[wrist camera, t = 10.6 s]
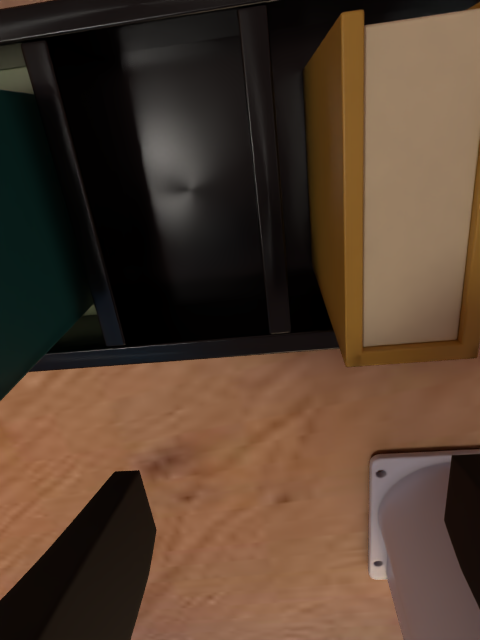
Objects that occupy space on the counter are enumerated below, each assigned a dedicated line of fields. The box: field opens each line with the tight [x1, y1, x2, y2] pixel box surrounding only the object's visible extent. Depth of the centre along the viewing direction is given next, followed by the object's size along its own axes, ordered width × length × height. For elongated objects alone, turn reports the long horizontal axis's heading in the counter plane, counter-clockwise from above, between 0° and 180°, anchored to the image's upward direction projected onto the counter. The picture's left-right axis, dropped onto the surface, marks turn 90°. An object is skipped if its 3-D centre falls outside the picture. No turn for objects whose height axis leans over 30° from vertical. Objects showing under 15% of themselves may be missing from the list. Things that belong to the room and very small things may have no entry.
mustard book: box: [303, 2, 480, 367], centre depth 12 cm, size 7×3×8 cm, turn 7°
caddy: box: [0, 0, 480, 372], centre depth 15 cm, size 11×19×4 cm, turn 97°
